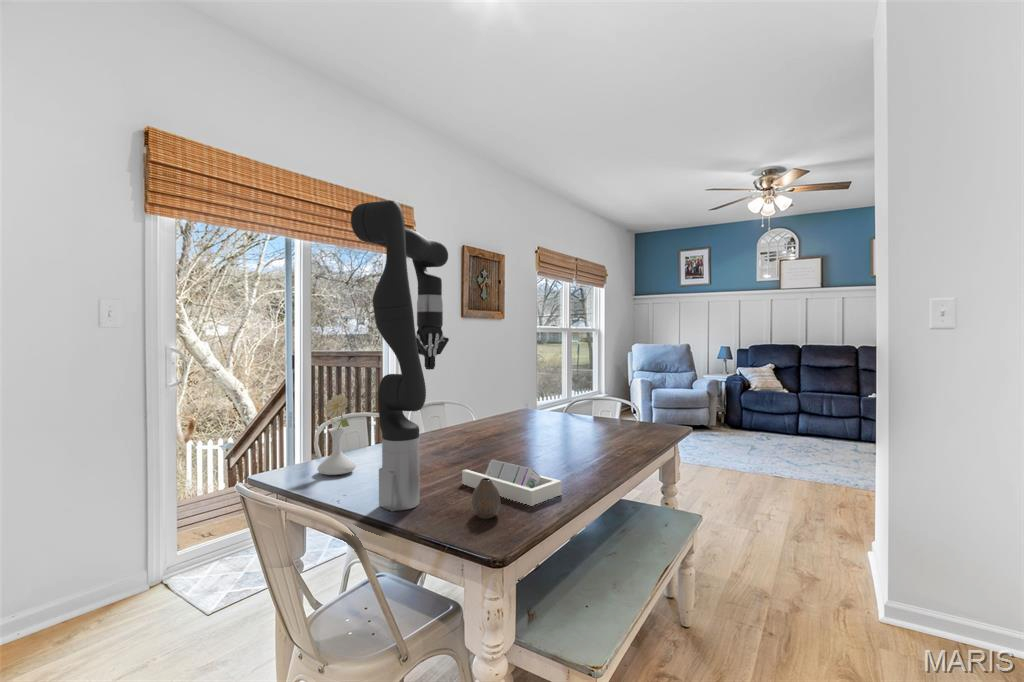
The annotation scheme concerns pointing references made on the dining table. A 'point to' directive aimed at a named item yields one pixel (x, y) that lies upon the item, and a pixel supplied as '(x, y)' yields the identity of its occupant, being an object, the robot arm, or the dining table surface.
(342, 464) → the flower in vase
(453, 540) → the dining table surface
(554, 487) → the rectangular tray
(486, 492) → the vase
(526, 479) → the syrup box
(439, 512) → the dining table surface
